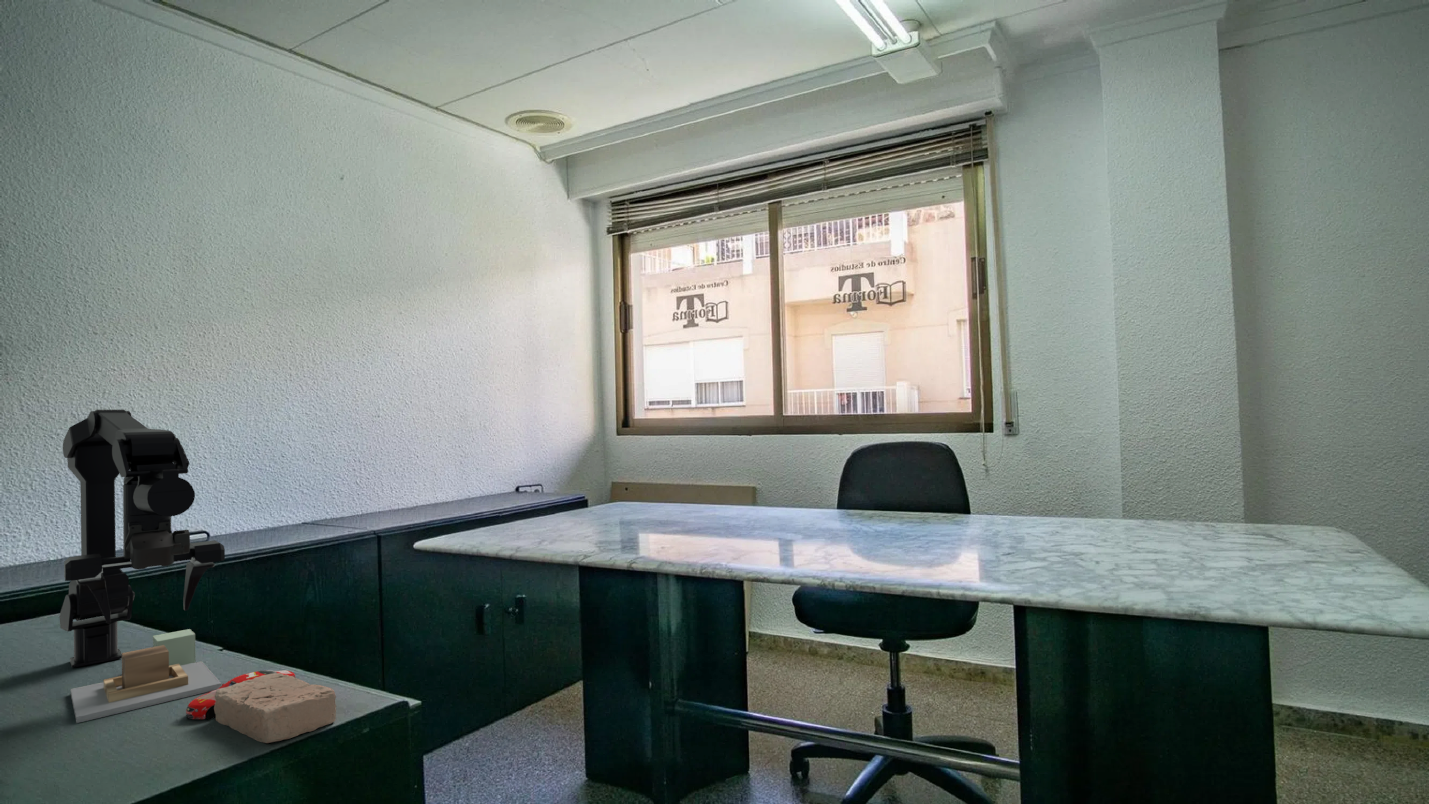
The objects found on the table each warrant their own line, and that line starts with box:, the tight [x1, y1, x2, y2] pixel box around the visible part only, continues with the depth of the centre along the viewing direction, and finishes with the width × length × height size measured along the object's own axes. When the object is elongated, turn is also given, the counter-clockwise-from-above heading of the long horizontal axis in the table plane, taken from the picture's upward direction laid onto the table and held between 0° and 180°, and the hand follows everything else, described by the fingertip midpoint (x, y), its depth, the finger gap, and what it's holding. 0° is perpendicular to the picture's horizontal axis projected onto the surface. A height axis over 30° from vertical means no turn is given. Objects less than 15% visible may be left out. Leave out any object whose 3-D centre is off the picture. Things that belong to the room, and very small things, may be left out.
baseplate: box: [70, 660, 222, 724], centre depth 105 cm, size 16×16×2 cm
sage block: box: [152, 628, 197, 666], centre depth 118 cm, size 5×5×5 cm
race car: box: [185, 669, 297, 721], centre depth 98 cm, size 13×5×4 cm, turn 141°
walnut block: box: [121, 645, 169, 689], centre depth 105 cm, size 5×5×5 cm
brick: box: [214, 673, 337, 744], centre depth 92 cm, size 17×8×5 cm, turn 55°
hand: (148, 616), depth 107 cm, fingers open, 9 cm apart
